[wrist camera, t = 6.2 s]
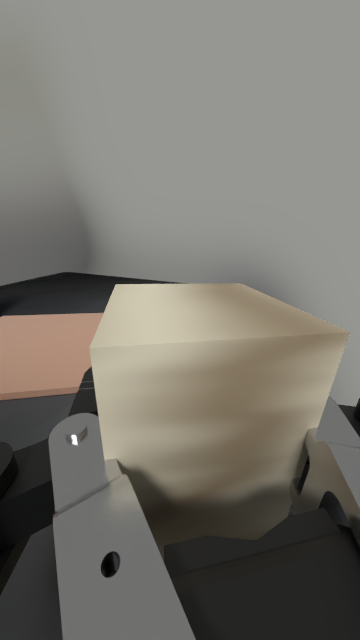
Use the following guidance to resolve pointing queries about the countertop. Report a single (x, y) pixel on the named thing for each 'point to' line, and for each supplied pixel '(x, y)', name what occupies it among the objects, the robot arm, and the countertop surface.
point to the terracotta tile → (45, 353)
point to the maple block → (210, 403)
